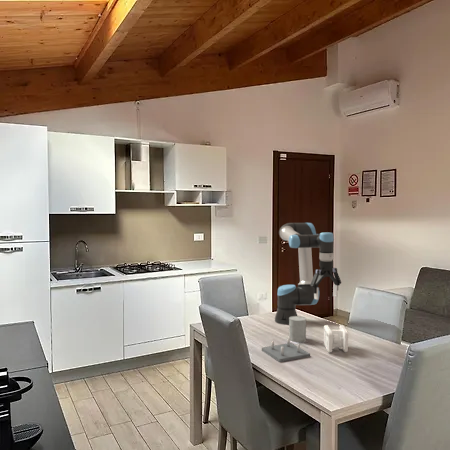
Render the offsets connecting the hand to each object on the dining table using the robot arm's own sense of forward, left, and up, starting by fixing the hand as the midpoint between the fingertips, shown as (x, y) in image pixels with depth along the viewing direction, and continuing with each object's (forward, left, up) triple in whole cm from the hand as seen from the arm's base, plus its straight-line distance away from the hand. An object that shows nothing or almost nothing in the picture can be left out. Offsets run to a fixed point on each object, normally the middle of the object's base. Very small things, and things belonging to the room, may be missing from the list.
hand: (325, 297), depth 243 cm
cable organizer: (+15, -5, -24) cm, 29 cm away
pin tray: (+9, -32, -24) cm, 41 cm away
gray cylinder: (-7, -14, -24) cm, 29 cm away
